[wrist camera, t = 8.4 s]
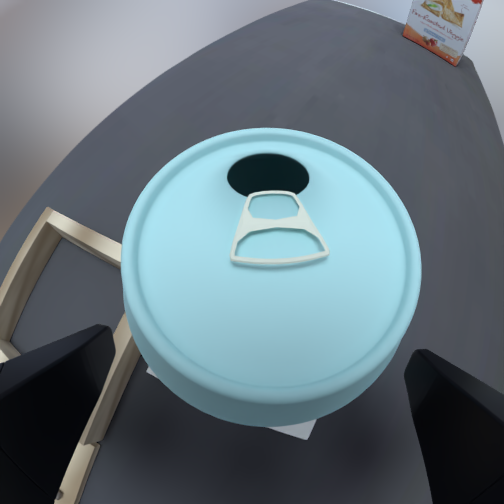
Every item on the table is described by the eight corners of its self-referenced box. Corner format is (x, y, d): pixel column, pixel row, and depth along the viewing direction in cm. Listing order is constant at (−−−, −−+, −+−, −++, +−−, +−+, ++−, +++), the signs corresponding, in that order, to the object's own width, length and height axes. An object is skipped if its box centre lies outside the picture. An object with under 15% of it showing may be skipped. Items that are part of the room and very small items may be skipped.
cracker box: (401, 36, 42) (420, -36, 23) (408, 34, 44) (426, -32, 25) (455, 68, 38) (483, -4, 19) (459, 64, 40) (484, -2, 21)
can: (172, 328, 16) (47, 218, 5) (263, 257, 18) (280, 82, 7) (251, 422, 14) (257, 521, 3) (342, 340, 16) (488, 250, 5)
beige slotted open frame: (177, 281, 18) (167, 266, 16) (66, 540, 8) (51, 549, 6) (62, 222, 20) (47, 206, 17) (-25, 448, 10) (-43, 448, 8)
